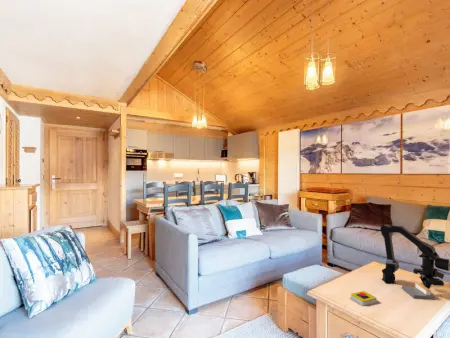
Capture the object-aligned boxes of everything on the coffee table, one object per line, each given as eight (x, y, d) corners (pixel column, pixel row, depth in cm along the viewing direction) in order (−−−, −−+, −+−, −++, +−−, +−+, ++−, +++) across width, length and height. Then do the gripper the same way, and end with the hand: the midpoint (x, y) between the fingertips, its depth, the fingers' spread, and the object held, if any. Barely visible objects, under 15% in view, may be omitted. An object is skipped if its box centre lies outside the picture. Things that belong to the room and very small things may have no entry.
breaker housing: (413, 298, 153) (413, 295, 153) (401, 288, 165) (401, 285, 165) (434, 299, 152) (434, 296, 152) (421, 290, 163) (421, 287, 163)
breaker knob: (426, 294, 153) (426, 290, 153) (415, 287, 163) (415, 282, 163) (430, 295, 153) (430, 290, 153) (419, 287, 163) (419, 282, 163)
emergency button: (348, 292, 151) (366, 288, 157) (348, 299, 152) (366, 295, 157) (361, 299, 143) (380, 295, 148) (361, 307, 143) (380, 302, 148)
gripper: (454, 272, 147) (453, 298, 148) (430, 260, 166) (430, 283, 166) (433, 271, 148) (433, 297, 149) (413, 259, 167) (412, 282, 167)
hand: (427, 290), depth 158 cm, fingers closed
